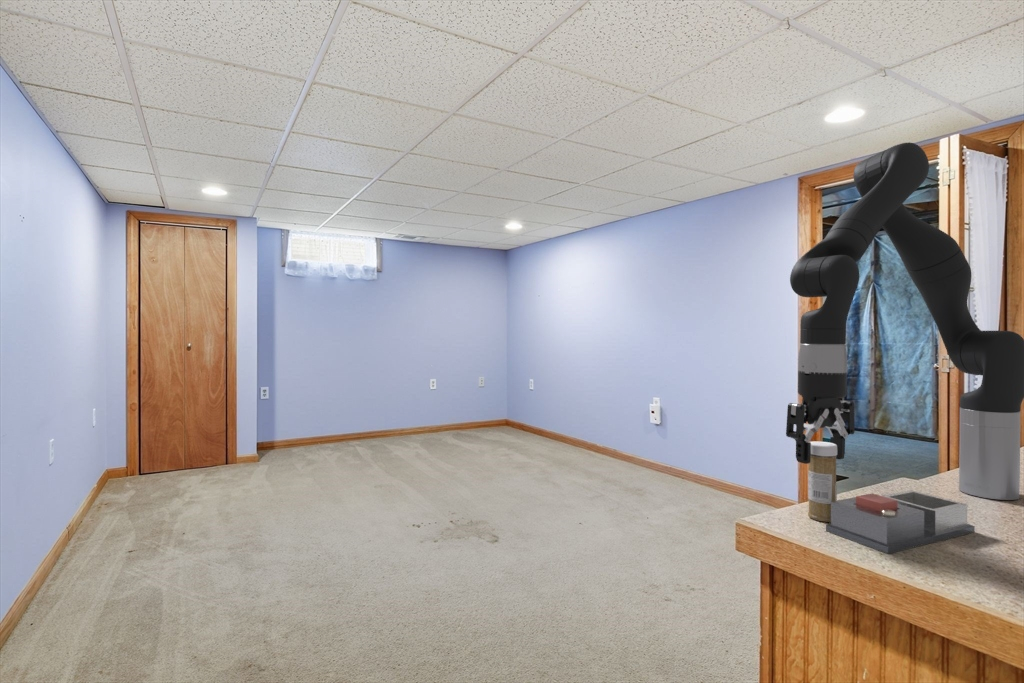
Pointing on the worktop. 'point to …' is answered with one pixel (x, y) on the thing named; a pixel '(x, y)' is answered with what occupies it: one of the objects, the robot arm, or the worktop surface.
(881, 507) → the button
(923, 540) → the grey push button box
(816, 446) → the sprinkles bottle
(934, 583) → the worktop surface
